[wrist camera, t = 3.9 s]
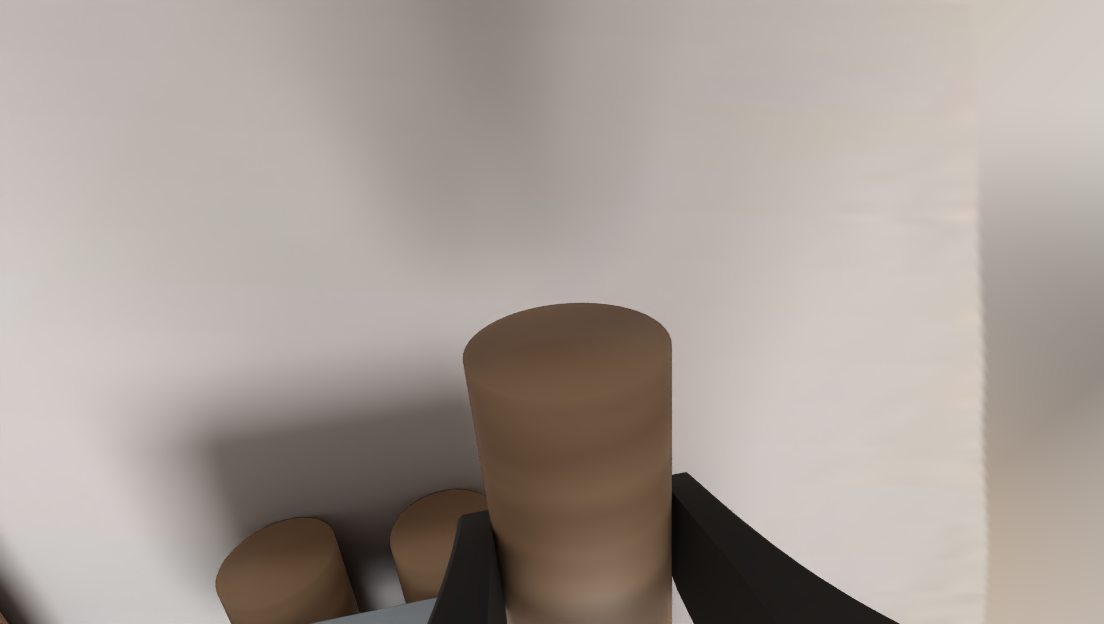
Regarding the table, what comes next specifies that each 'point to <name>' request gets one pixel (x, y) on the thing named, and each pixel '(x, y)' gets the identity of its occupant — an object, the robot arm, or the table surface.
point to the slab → (391, 615)
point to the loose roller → (577, 461)
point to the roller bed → (335, 564)
